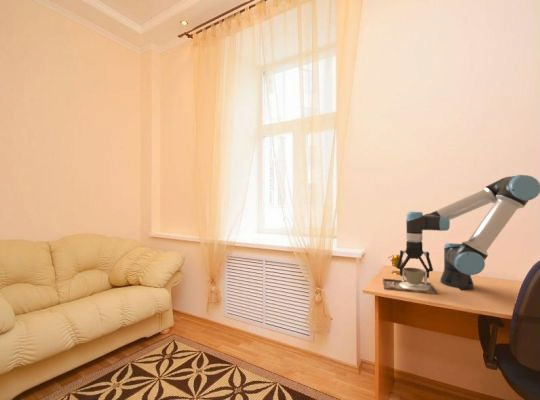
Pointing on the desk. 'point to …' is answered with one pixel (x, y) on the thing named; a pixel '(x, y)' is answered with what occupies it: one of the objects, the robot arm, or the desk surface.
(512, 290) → the desk surface
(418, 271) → the flower pot
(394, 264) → the figurine
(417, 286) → the saucer
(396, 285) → the tray
